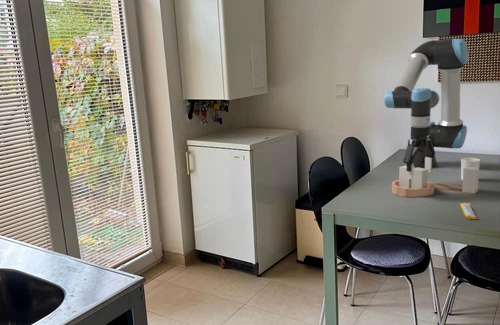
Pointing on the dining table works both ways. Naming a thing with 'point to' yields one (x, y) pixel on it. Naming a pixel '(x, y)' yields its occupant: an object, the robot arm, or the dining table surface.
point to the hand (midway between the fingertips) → (419, 175)
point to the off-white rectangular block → (419, 178)
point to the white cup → (469, 164)
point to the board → (451, 188)
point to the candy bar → (468, 211)
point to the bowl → (412, 190)
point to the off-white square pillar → (470, 179)
